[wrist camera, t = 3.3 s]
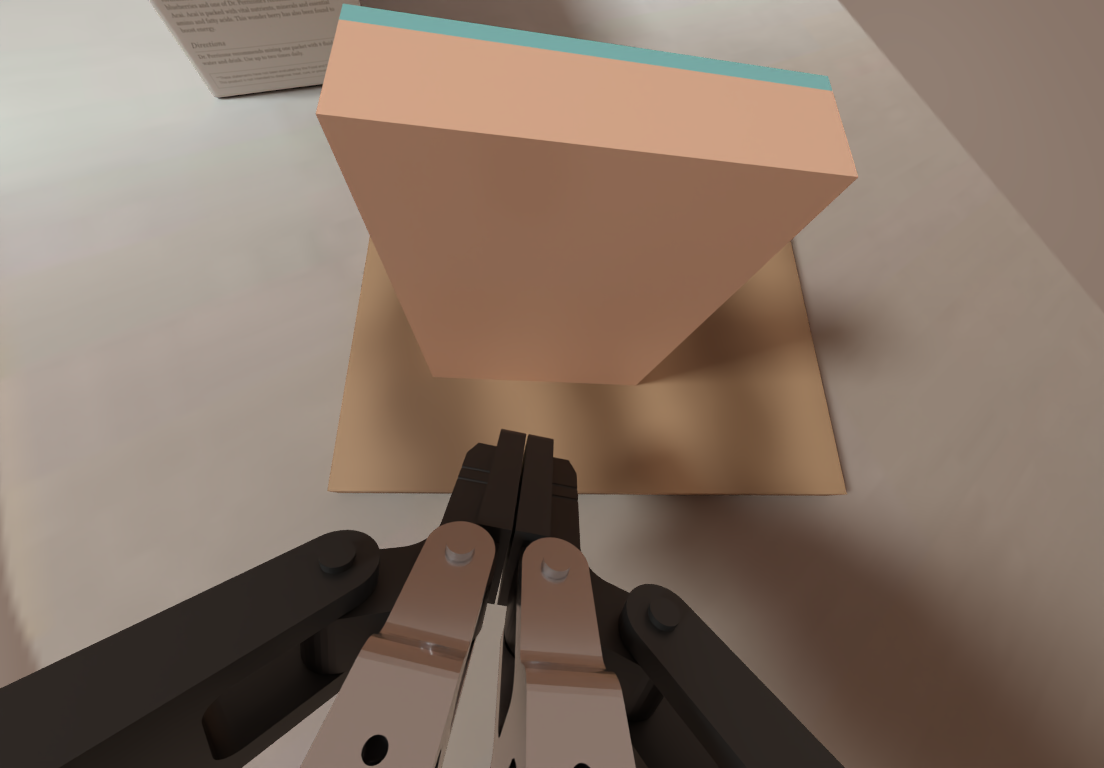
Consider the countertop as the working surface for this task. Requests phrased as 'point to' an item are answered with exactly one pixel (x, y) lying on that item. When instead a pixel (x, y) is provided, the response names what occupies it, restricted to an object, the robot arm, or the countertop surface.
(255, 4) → the supplement box
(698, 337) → the tan wooden board
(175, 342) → the countertop surface
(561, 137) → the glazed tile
